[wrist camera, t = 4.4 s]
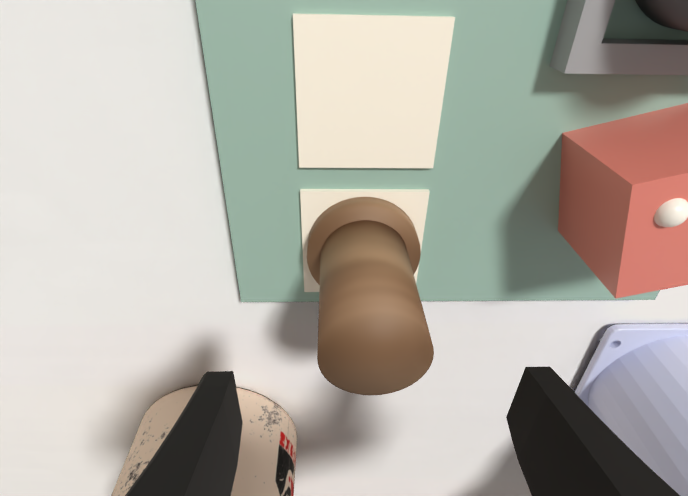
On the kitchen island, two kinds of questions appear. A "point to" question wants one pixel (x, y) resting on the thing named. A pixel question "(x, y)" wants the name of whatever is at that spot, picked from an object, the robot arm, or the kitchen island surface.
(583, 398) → the robot arm
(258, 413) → the teacup with lid
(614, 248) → the die
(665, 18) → the dark gray round knob
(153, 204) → the kitchen island surface
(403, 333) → the flanged wooden peg
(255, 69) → the board
